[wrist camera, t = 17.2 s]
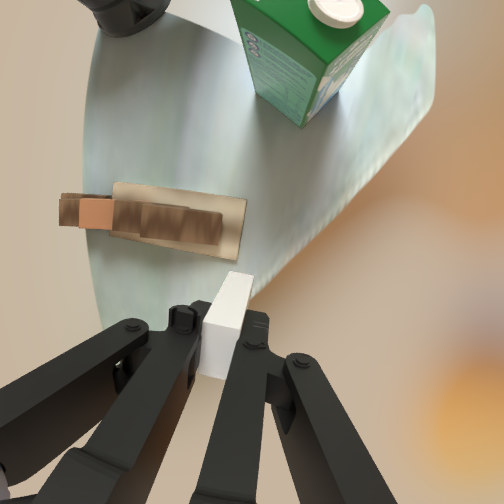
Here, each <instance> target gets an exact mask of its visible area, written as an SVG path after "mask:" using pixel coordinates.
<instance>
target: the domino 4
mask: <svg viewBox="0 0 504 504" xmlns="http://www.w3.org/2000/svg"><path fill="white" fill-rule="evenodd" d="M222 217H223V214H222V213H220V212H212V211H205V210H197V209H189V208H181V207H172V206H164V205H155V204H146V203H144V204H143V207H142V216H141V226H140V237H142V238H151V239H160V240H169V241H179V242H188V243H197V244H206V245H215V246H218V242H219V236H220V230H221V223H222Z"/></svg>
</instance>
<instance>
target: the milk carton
mask: <svg viewBox="0 0 504 504" xmlns="http://www.w3.org/2000/svg"><path fill="white" fill-rule="evenodd" d="M230 1H231V5H232V8H233V11H234V15H235V18H236V22H237V25H238V28H239V32H240V36H241V39H242V43H243V47H244V50H245V54H246V58H247V61H248V65H249V69H250V73H251V77H252V81H253V85H254V89H255V92H256V93H257V94H259V95H260V96H261V97H263V98H264V99H265V100H266V101H268V102H269V103H270V104H272V105H273V106H274V107H276V108H277V109H278V110H279V111H281V112H282V113H283V114H284V115H286V116H287V117H288V118H289V119H290V120H292V121H293V122H294V123H295V124H296V125H298V126H299V127H300V128H301V129H302V128H303V127H304V126H305V125H306V124H307V123H308V122H309V121H310V120H311V119H312V118H313V117H314V116H315V115H316V114H317V113H318V112H319V110H320V109H321V108H322V107H323V106H324V105H325V104H326V103H327V102H328V101H329V100H330V99H331V98H332V97H333V96H334V95H335V94H336V93H337V92H338V91H339V90H340V88H341V87H342V85H343V84H344V82H345V81H346V79H347V78H348V76H349V74H350V73H351V71H352V70H353V68H354V67H355V65H356V64H357V62H358V61H359V59H360V57H361V56H362V54H363V53H364V51H365V50H366V48H367V47H368V45H369V44H370V42H371V41H372V39H373V38H374V36H375V34H376V33H377V31H378V30H379V28H380V27H381V25H382V24H383V22H384V21H385V19H386V18H387V16H388V15H389V13H390V11H389V10H388V9H387V8H386V7H385V6H384V5H383V4H382V3H381V2H380V1H379V0H230Z"/></svg>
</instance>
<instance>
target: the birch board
mask: <svg viewBox="0 0 504 504" xmlns="http://www.w3.org/2000/svg"><path fill="white" fill-rule="evenodd" d="M112 199H125V200H139V201H149V202H153V203H162V204H170V205H179V206H187V207H189V208H190V209H197V210H205V211H212V212H220V213H222V214H223V217H222V223H221V230H220V236H219V242H218V246H215V245H206V244H197V243H188V242H179V241H169V240H160V239H151V238H142V237H140V234H138V233H128V232H119V231H112V230H110V232H109V236H114V237H119V238H124V239H129V240H134V241H139V242H144V243H149V244H154V245H159V246H164V247H169V248H174V249H179V250H184V251H189V252H194V253H199V254H204V255H210V256H215V257H220V258H225V259H230V260H237V257H238V251H239V245H240V239H241V232H242V226H243V220H244V214H245V208H246V203H247V200H246V199H240V198H234V197H227V196H221V195H215V194H208V193H202V192H195V191H188V190H181V189H173V188H166V187H158V186H150V185H141V184H133V183H123V182H114V185H113V194H112Z"/></svg>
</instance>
